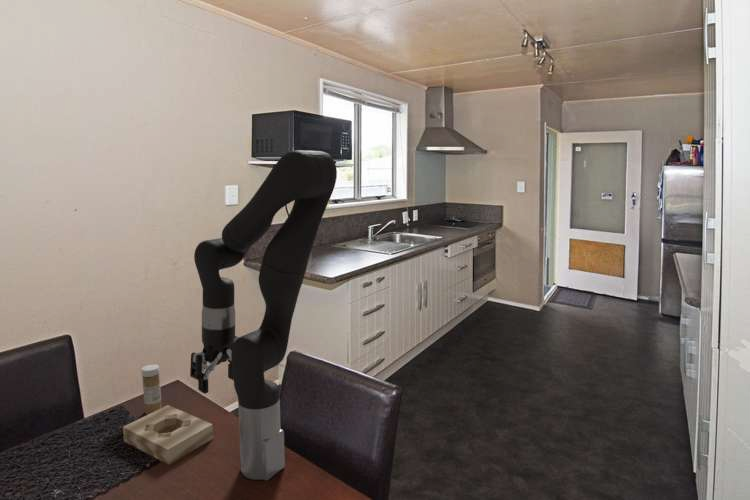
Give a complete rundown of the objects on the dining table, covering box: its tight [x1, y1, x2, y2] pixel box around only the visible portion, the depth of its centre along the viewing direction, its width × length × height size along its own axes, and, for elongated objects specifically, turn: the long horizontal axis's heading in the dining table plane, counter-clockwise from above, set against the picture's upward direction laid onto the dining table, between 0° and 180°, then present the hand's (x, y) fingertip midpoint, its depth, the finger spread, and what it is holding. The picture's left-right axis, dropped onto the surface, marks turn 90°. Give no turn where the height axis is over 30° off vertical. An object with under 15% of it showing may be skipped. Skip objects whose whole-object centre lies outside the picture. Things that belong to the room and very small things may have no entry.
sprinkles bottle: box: [140, 363, 163, 415], centre depth 135 cm, size 5×5×14 cm
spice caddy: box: [122, 404, 214, 466], centre depth 122 cm, size 18×13×4 cm
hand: (218, 385), depth 116 cm, fingers open, 8 cm apart
